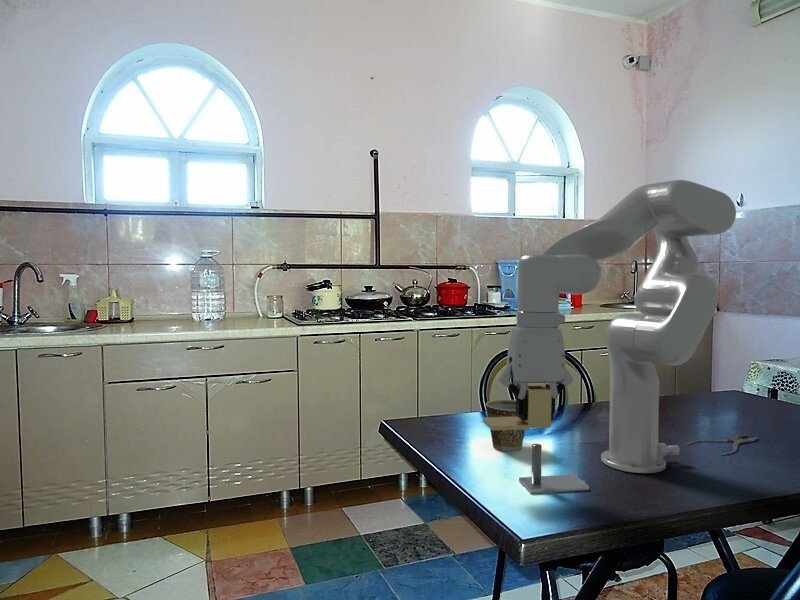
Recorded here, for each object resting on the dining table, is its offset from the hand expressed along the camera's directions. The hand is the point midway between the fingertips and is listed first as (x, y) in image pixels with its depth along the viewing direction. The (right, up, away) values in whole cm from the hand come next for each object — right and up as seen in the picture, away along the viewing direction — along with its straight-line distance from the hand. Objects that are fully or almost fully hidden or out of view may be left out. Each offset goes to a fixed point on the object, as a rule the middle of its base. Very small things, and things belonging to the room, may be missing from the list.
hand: (535, 417), depth 105 cm
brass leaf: (-4, -1, 0) cm, 4 cm away
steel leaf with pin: (+4, -13, +1) cm, 14 cm away
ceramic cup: (0, -12, +26) cm, 29 cm away
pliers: (+51, -12, +27) cm, 59 cm away
